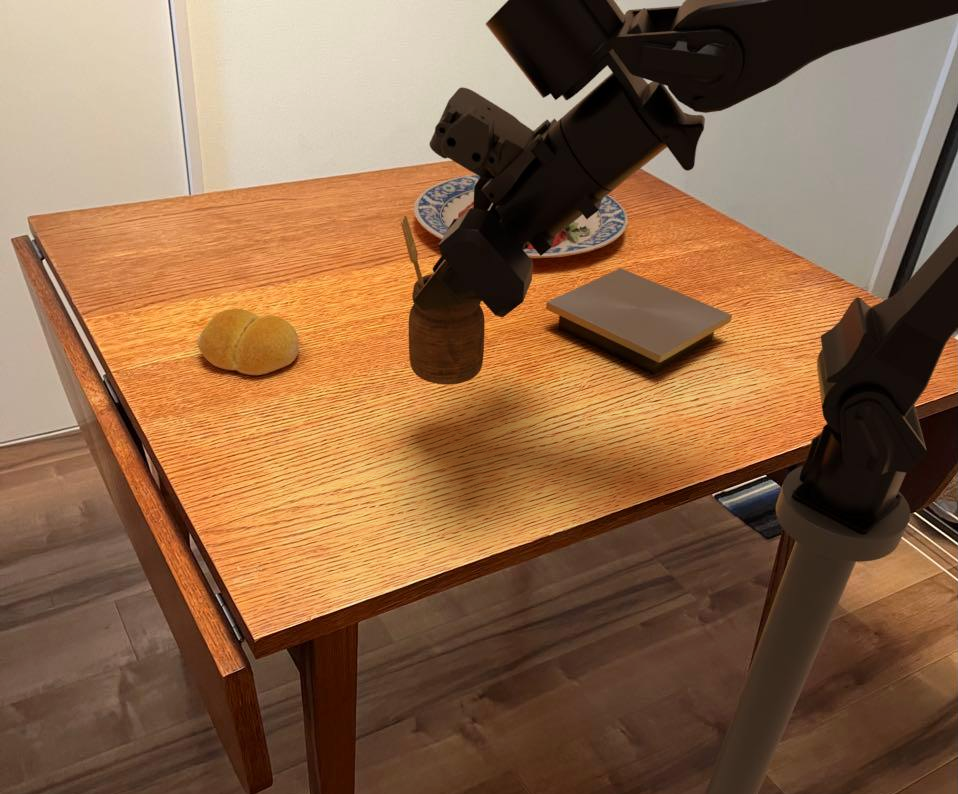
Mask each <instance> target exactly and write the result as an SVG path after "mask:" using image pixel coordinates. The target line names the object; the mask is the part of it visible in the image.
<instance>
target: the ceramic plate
mask: <svg viewBox="0 0 958 794" xmlns="http://www.w3.org/2000/svg"><path fill="white" fill-rule="evenodd" d="M479 178H480V176H478V175H476V174H475V173H473V174H468V175H467V174H466V175H463V176H458V177H454V178H449V179H447V180H444V181H440V182H439V183H436V184H434V185H432V186H430V187H429V188H426V190H424V191H423V192H421V194H420V195H419V196H418V197H417V199H416V200H415V202H414V204H413V205H414V206H413V211H414V216H415V218H416V220H417V222H418V223H419V224H420V226H421V227H422V228H423V229H424V230H426V231H427V232H428V233H429V234H431V235H432V236H435V237H436V238H438V239H440V240H442V238H443V237H444V235H445V233H446V231H447V229H448V228H449V226H450V225H451V223H452V221H453V220H454V219H456V220H458V219H459V218H460V217H461V216H462V215H463V214H464V213H465V212H466V211H468V210H469V209H470V208H472V209H473V203H474V186H475V184H476V183H477V181H478V180H479ZM627 226H628V215H627V212H626V210H625V209H624V207H623V206H622V205H621V204H620V203H619V202H618V201H617V200H616V199H615V198H613V197H612V196H610V195H609V194H608V195H606V196H605V197H604V198H603V199H602V201H601V204H600V208H599V210H598V211H597V212H596V213H595V214H593V215H592V216H591V217H590V218H588V219H586V218H585V217H584V215H581V216H580V217H579V218H578V219H576V220H575V221H574V222H573V223H571V224H570V225H569V226H568V227H566V228H565V229H564V230H562V231H561V232H560V233H559V234H557V235H556V238H555V240H554V243H553V245H552V248H550V249H549V250H548V251H546V252H545V253H544V254H543V255H541V256H540V255H539V253H538V252H537V251H536V250H535V249H534V247H533V246H532V245H531V244H530V245H529V247H528V248H526V249H524V252H525V253H526V254H527V255H528V256H529V257H530V259H545V258H562V257H569V256H573V255H574V256H575V255H579V254H580V255H581V254H584V253H588V252H592V251H594V250H598V249H600V248H601V249H602V248H603V247H605V246H607V245H609V244H612V243H613V242H615V240H617V239H619V238H620V237H621V236H622V235H623V233H624V232H625V231H626V229H627Z"/></svg>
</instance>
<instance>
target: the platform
mask: <svg viewBox="0 0 958 794" xmlns="http://www.w3.org/2000/svg"><path fill="white" fill-rule="evenodd" d="M545 309H546V310H547V311H549V312H551V313H554V314H555V315H558V326H557V330H558V331H560V332H562V333H564V334H566V335H569V336H571V337H573V338H575V339H577V340H579V341H580V342H583V343H585V344H586V345H589V346H591V347H593V348H595V349H597V350H599V351H601V352H604V353H606V354H608V355H610V356H612V357H614V358H616V359H618V360H620V361H622V362H624V363H627V364H628V365H630V366H632V367H634V368H636V369H638V370H641V371H643V372H645V373H647V374H649V375H651V376H655V375H657V374H659V373H660V372H662V371H664V370H665V369H667V368H669V367H670V366H673V365H674V364H677V362H679V361H681V360H683V359H684V358H686V357H688V356H690V355H691V354H693V353H694V352H696V351H698V350H701V348H703V347H705V346H707V345H708V344H710V343H711V342H713V338H714V334H715V332H716V331H718V330H719V329H721V328H723V327H725V326H727V325H728V324H730V323H731V321H732V317H733V315H732V314H731V313H729V312H726V311H725V310H723V309H719V308H717V307H715V306H712V305H710V304H707V303H705V302H702V301H700V300H697V299H695V298H693V297H691V296H688V295H686V294H683V293H681V292H679V291H676V290H674V289H672V288H669V287H668V286H667V287H666V286H665V285H662V284H660V283H657V282H655V281H652V280H651V279H648V278H645V277H643V276H640V275H638V274H636V273H633V272H631V271H629V270H627V269H624V268H622V267H620V268H618V269H615V270H613V271H611V272H609V273H607V274H605V275H602V276H600V277H598V278H596V279H594V280H592V281H591V280H590V281H589V282H586V283H584V284H583V285H581V286H579V287H575V288H574V289H572V290H569V291H567V292H565V293H563V294H561V295H558V296H557V297H555V298H552V299H550V300H548V301H546V305H545Z"/></svg>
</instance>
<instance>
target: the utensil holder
mask: <svg viewBox="0 0 958 794" xmlns="http://www.w3.org/2000/svg"><path fill="white" fill-rule="evenodd" d="M400 225H401V229H402V230H401V231H402V234H403V238H404V241H405V245H406V249H407V255H408V257H409V260H410V263H412V264H413V267H414V270H415V274H416V278H417V280H416V281H415V282H414V285H413V288H412V289H413V290H412V295H411V296H412V297H411V298H412V303H413V304H412V306H411V308H410V311H409V315H408V357H409V364H410V365H409V366H410V369H411V370H412V372H413V373H414V375H416V376H417V377H418V378H420V379H421V380H423V381H425V382H427V383H432V384H435V385H444V386H445V385H450V386H451V385H457V384H463V383H466V382H468V381H470V380H472V379H474V378H475V377H476V376H478V374H479V373H480V372H481V370H482V367H483V363H484V355H485V354H484V353H485V332H486V331H485V327H486V326H485V323H486V321H485V313H484V310H483V308H482V306H481V303H482V301H479V302H471V303H465V304H459V305H453V306H448V307H442V308H437V309H431V310H426V311H423V310H421V309H420V308H419V307H418V306H417V305H416V304H415V303H414V298H415V297H416V295H417V294H418V293H419V291H420V290H421V289H422V287H423V286H424V285H425V284H426V282H427V281H428V280H429V279H430V277H431V276H432V275H433V273H429V274H427V275H422V271H421V268H420V265H419V260H418V259H419V258H418V257H419V256H418V255H419V254H418V249H417V245H416V242H415V239H414V236H413V233H412V229H411V227H410V223H409V220H408V216H407V214H406V213H405V214H403V217H402V220H401V221H400Z"/></svg>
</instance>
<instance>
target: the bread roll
mask: <svg viewBox="0 0 958 794" xmlns="http://www.w3.org/2000/svg"><path fill="white" fill-rule="evenodd" d="M299 341H300V340H299V335H298V333H297V331H296V329H295V328H294V326H293V325H292V323H290V322H289V321H287V320H286V319H284V318H282V317H280V316H278V315H263V316H259V315H258V314H256V313H254V312H253V311H250V310H246V309H243V308H238V307H237V308H230V309H224V310H222V311H221V312H219V313H217V314H216V315H215V316H213V317H212V318H211V320H209V322H208V324H206V326H204V328H203V329H202V330H201V332H200V334H199V336H198V339H197V347H198V349H199V351H200V353H201V355H202V356H203V357H204V359H206V361H208V362H209V363H210V364H211V365H212V366H215V367H216V368H219V369H223V370H228V371H236V372H238V373H241V374H243V375H249V376H261V375H267V374H270V373H272V372H275V371H278V370H281V369H283V368H285V367H287V366H289V365H290V364H292V363H293V362H294V361H295V360H296V358H297V356H298V355H299V349H300V348H299V347H300V346H299Z"/></svg>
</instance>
